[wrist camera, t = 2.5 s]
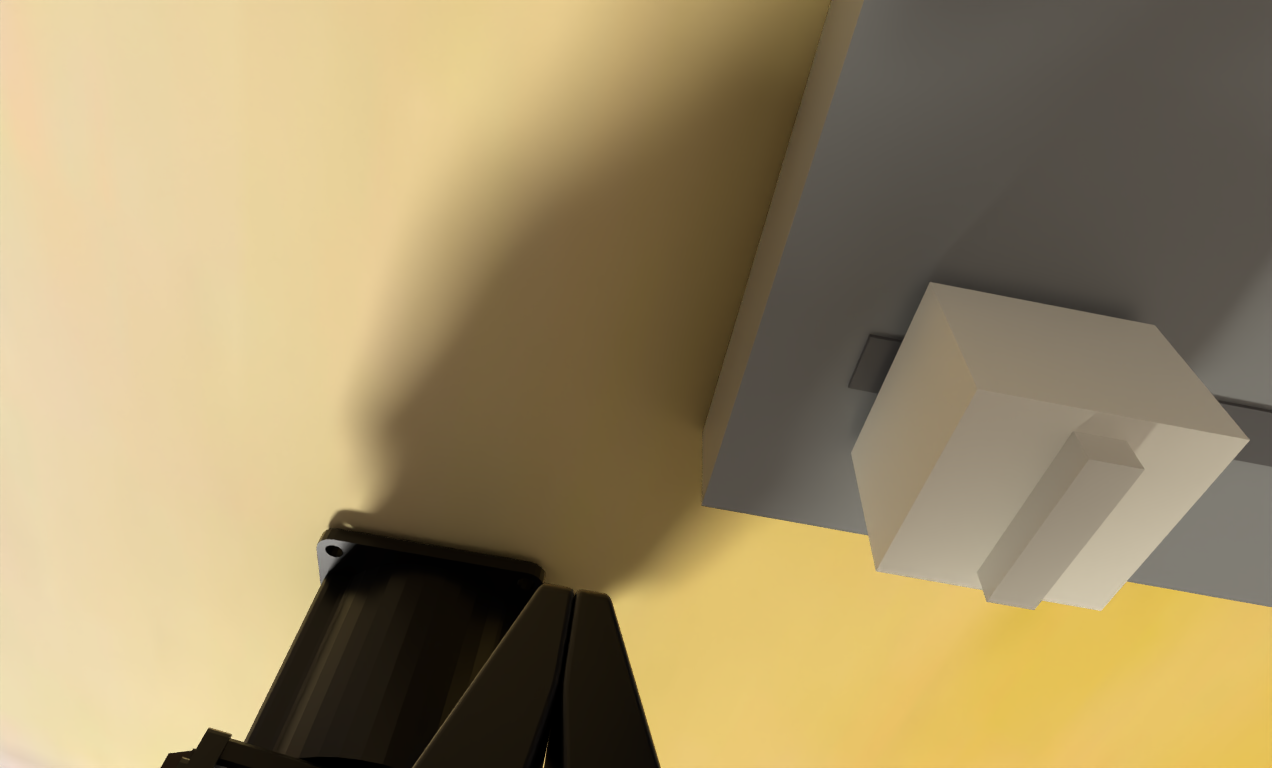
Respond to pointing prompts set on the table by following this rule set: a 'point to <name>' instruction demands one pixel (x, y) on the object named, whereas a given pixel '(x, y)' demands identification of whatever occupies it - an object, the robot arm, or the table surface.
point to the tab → (1033, 449)
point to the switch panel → (1012, 235)
